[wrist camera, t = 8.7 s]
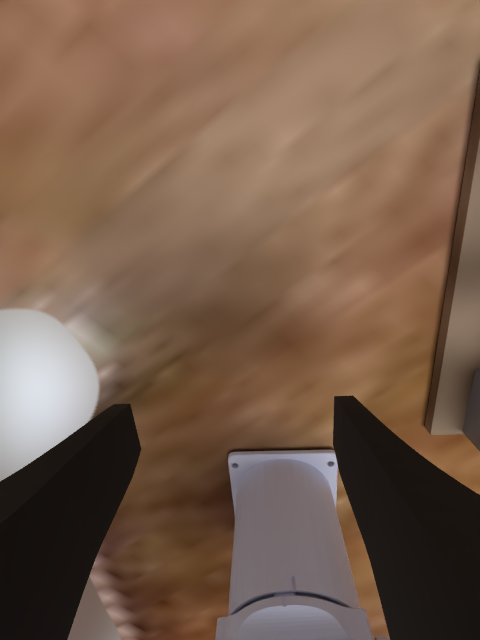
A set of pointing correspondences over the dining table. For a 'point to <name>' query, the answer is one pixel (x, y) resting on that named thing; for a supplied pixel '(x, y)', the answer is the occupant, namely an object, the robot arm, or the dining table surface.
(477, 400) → the end caps
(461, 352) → the base board
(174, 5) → the dining table surface
